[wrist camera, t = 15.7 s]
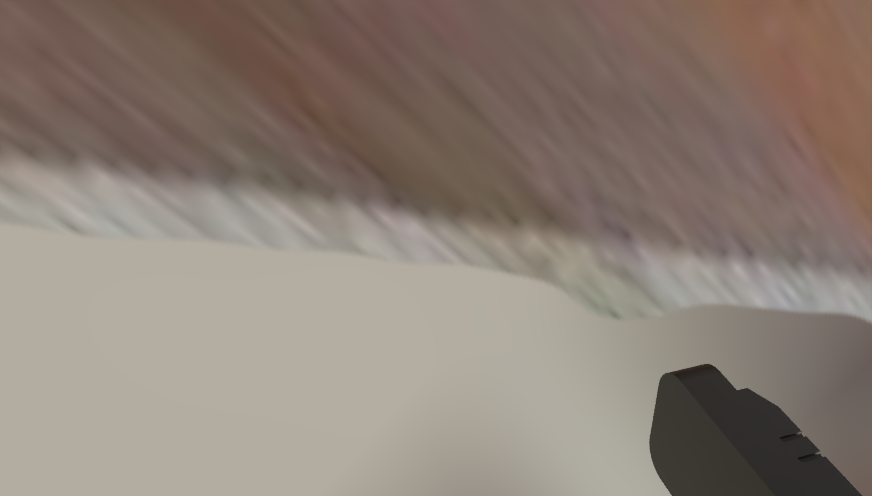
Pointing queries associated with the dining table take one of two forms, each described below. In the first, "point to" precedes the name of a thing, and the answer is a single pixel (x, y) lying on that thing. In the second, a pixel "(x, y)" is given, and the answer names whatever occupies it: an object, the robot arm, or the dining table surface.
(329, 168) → the dining table surface
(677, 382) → the robot arm
